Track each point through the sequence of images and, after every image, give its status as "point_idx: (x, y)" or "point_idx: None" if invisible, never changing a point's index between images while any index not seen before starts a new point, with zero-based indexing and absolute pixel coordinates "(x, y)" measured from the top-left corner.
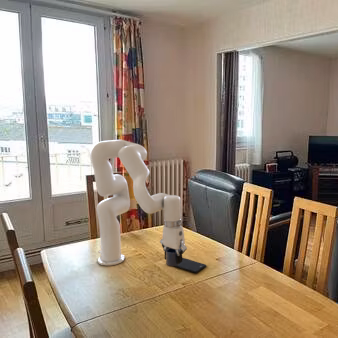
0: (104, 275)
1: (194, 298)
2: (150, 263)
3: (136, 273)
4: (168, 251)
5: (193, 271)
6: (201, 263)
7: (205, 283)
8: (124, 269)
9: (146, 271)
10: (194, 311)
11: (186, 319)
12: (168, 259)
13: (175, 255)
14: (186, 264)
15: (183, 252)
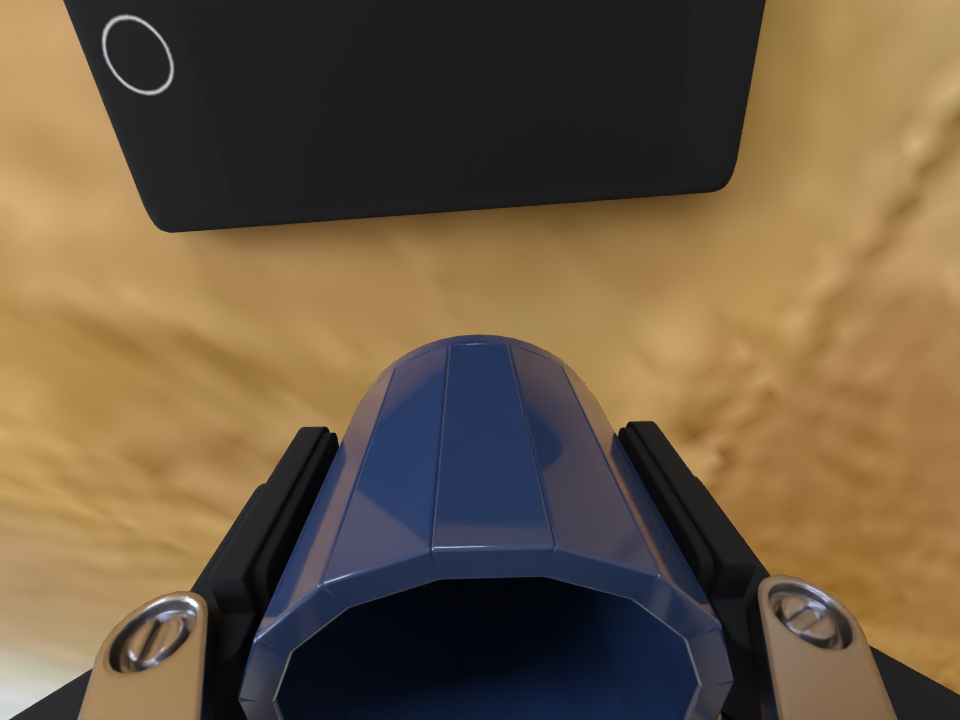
0: (52, 673)
1: (884, 524)
2: (5, 333)
3: (177, 545)
4: (316, 643)
5: (687, 193)
6: None
7: (915, 300)
8: (18, 561)
9: (199, 477)
10: (931, 606)
11: (905, 660)
12: (490, 631)
13: (642, 676)
14: (454, 66)
15: (934, 704)
